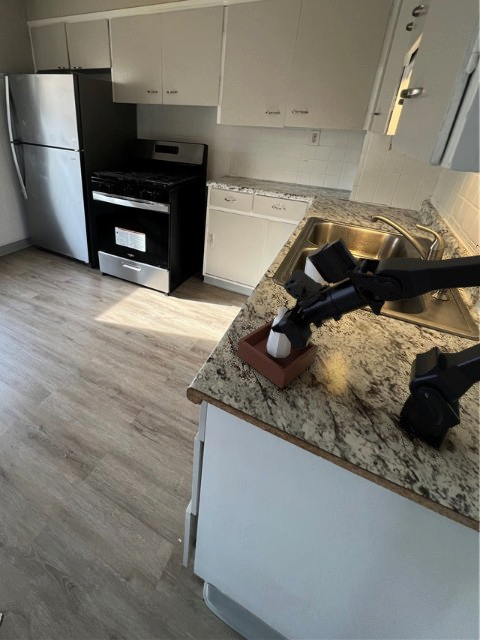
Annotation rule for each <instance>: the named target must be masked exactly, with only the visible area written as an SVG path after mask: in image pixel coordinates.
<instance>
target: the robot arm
mask: <svg viewBox="0 0 480 640" xmlns="http://www.w3.org/2000/svg"><path fill="white" fill-rule="evenodd" d="M307 257H308V259H309V260H310V261H311V263H312V264H313V266H314V267H315V268H316V270H317V271H318V273H319V274H320V275H321V277H322V278H323V280H324V281H325V282H327V283H326V284H325V285H323V286H322V285H321V283H318V282H315V281H314V280H313V279H312V278H311V277H309V276H308V275H307V274H305V271H303V270H302V269H300V268H299V269H298V268H297V269H296V270H295V271H294V272H293V273H292V274H291V275H290V276H289V277H288V279H286V281H285V282H284V284H283V285H282V287H283V289H284V290H285V292H286V293H287V294H288V295H289V296H291V297H292V299H294V300H295V304H294V305H293V306H292V307H290V308H288V310H287V311H286V313H285V314H284V316H283V317H282V318H281V320H280V321H279V322H278V323H277V324H275V325H274V326H272V327H271V329H272V330H273V332H276V333H281V334H285V335H286V337H287V338H288V340H289V341H290V343H291V344H292V346H293V347H294V349H296V350H299V349H303V348H306V346H307V345H308V343H309V341H310V342H311V339H312V336H313V333H314V332H313V331H312V327H311V325H312V324H313V325H314V326H315V328H316V329H319V328H322V327H323V325H324V323H326V322H328V321H331V320H333V321H334V322H339V321H341V320H342V318H343V316H345V315H347V314H350V313H353V312H356V311H358V310H361V309H364V308H367V307H369V308H370V309H371V311H372V312H373V314H374V315H375V316H376V317H379V316H380V315H381V312H382V309H383V307H384V305H385V304H386V302H388V303H389V302H390V303H394V302H401V301H405V300H410V299H415V298H418V297H422V296H424V295H426V294H429V293H431V292H437V291H440V290H451V289H466V288H480V254H477V255H476V254H475V255H468V256H459V257H451V258H444V259H423V258H417V257H386V258H383V259H375V258H367V257H359V258H358V259H356V257H355V256H354V255H353V253H352V252H351V250H350V249H349V248H348V245H347V243H346V242H345V240H344V239H343V238H342V237H340V238H338V239H336V240H332V241H329V242H328V241H327V242H326V243H324V244H322V245H321V246H319V247H316V249H313V251H311V252H310V253H309V254H308V255H307ZM307 257H306V258H307ZM368 272H369V273H368ZM330 284H333V285H330ZM479 382H480V342H478V343H476V344H473V345H472V346H468V347H467V348H465V349H462V350H460V351H457V352H443V351H442V350H441V349H440V348H439V346H437V345H435V346H433V347H431V348H430V349H428V350H426V351H424V352H418V353H416V354H415V359H413V360H412V362H411V364H410V372H409V383H408V390H409V395H408V397H407V398H406V399H405V401H404V404H403V406H402V408H401V410H400V411H399V416H400V419H399V420H398V422H397V424H398V426H399V427H401V428H402V429H404V430H405V431H407V432H408V433H409V434H411V435H412V436H414V437H416V438H417V439H419V440H420V441H422V442H423V443H425V444H426V445H428V446H429V447H431V448H433V449H434V450H436V451H439V450H440V449H441V447H442V445H443V443H444V441H445V438H446V437H447V434H448V432H449V430H450V429H453V428H455V427H457V426H458V425H460V424H461V411H460V399H461V398H462V397H463V396H464V395H466V393H467V392H468V391H469V390H470V389H472V387H473V386H474V385H475V384H477V383H479Z"/></svg>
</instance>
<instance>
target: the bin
mask: <svg viewBox="0 0 480 640" xmlns="http://www.w3.org/2000/svg"><path fill="white" fill-rule="evenodd" d="M273 322H274V319H271V320H269V321H267V322H266V323H265V324H264V323H263V324H262V325H261V326H260V327H257V328H256V329H254V330H253V331H251V332H249V333H248V334H246V335H245V336H243V337H241V338H240V339H238V346H237V351H236V356H237V357H239V358H240V359H242V361H244V362H245V363H246V364H248V365H250V366H251V367H252V368H253V369H255V370H256V371H257V372H259V373H260V374H261V375H262V376H263V377H265V378H266V379H268V380H269V381H270V382H271V383H273V384H275V386H277V387H278V388H280V389H281V390H283V389H284V388H286V386H288V385H289V384H290V383H291V382H292V381H294V379H296V378H297V377H298V376H299V375H301V373H303V372H304V371H305V370H307V368H308V367H310V366H311V365H312V364H314V362H315V360H316V356H317V352H318V349H319V346H318V345H316V344H314V343H313V342H312V341H311V340H310V341H309V343H308V345H307V346H306V348H303V349H299V350H296V349H294V347H293V346H292V344H291V347H290V354H289V355H288V356H287V357H285V358H275V357H274V356H272V355H271V354H269V353H268V351H267V347H266V346H267V342H268V339H269V335H270V332H271V327H272V325H273Z"/></svg>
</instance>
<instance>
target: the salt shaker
mask: <svg viewBox="0 0 480 640" xmlns="http://www.w3.org/2000/svg"><path fill="white" fill-rule="evenodd" d="M288 309H289V308H287V307H279V308H278V309H277V316H276V317H275V318H274V319H273V320H274V322H273V325H272V326H274V325H275V324H277V323H278V322H279V321H280V320H281V318H282V317H283V316H284V314H285V313H286V311H287V310H288ZM266 347H267V351H268V353H269V354H271V355H272V356H274V357H275V358H285V357H287V356H288V355H289V354H290V347H291V343H290V341H289V340H288V338H287V337H286V335H285V334H281V333H276V332H273V330H272V329H271V332H270V335H269V339H268V342H267V346H266Z"/></svg>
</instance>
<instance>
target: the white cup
mask: <svg viewBox="0 0 480 640" xmlns="http://www.w3.org/2000/svg"><path fill="white" fill-rule="evenodd" d="M304 273H305V274H307V275H308V276H309V277H311V278H312V279H313V280H314V281H315V282H318V283H321V285H322V286H323V285H325V284H328V283H327V282H325V281H324V280H323V278H322V277H321V275H320V274H319V273H318V271H317V270H316V268H315V267H314V266H313V264H312V263H311V261H310V260H309V259H308V257H306V260H305V266H304Z"/></svg>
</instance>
